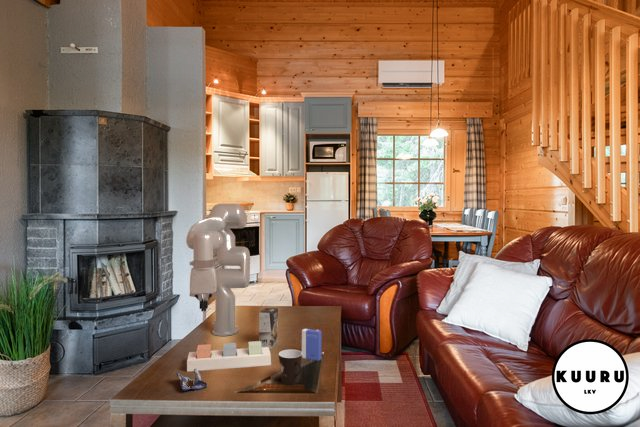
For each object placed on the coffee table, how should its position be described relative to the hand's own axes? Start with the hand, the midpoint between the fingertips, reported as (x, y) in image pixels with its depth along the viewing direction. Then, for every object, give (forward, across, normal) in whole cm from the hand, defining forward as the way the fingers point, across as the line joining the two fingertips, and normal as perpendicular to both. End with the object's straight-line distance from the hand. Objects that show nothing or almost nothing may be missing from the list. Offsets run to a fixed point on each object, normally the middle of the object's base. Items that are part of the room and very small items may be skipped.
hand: (203, 310), depth 170 cm
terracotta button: (+19, 0, 0) cm, 19 cm away
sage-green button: (+19, +20, 0) cm, 28 cm away
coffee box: (+22, +27, +18) cm, 40 cm away
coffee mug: (+22, +32, -22) cm, 45 cm away
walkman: (+22, +43, -1) cm, 49 cm away
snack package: (+23, -3, -18) cm, 29 cm away
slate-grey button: (+19, +10, 0) cm, 22 cm away
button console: (+22, +10, 0) cm, 24 cm away
